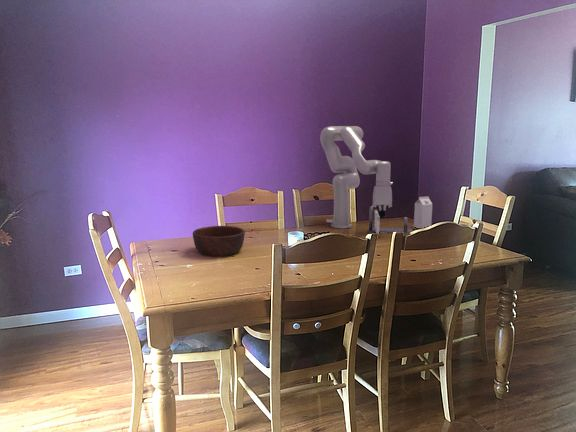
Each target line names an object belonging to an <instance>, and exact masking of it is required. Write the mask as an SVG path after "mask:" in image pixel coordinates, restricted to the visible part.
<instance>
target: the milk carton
mask: <svg viewBox="0 0 576 432" xmlns="http://www.w3.org/2000/svg"><path fill="white" fill-rule="evenodd" d="M413 215H414V216H413V228H414V227H416V228H424V227H427V226H430V225H431V226H432V220H433V219H432V217H433V202H432V201H431V199H430V196H419V197H418V199H417V200H416V201H415V202H414V214H413ZM416 228H415V229H416Z"/></svg>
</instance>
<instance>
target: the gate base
mask: <svg viewBox="0 0 576 432" xmlns="http://www.w3.org/2000/svg"><path fill="white" fill-rule="evenodd" d="M368 215H369V216H368V217H369V218H368V227H367V233H368V232H371V234H373V233H374V234H376V233H375V232H376V231H375V229H374V228H373V224H374V207H373V206H372V205H371V206H369V214H368ZM408 222H409V217H408V216H404V219H403V228H401V227H400V228H399V227H398V228H397V227H379V232H385V233H384V234H389V233H393V232H395V231H397V232H404V233H408V234H407V235H410V234H409V233H410V232H412V231H413V228H408V226H409V225H408V224H409V223H408ZM386 232H387V233H386ZM413 232H414V231H413Z"/></svg>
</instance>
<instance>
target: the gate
mask: <svg viewBox="0 0 576 432" xmlns="http://www.w3.org/2000/svg"><path fill="white" fill-rule="evenodd" d="M380 219H381V218H380V216H379V209H373V228H374V229H375V231H376V233H377V234H378V235H377V234H376V233H375V234H376V235H377V236H379V235H380V233H379V228H380V226H381V225H380V224H381V223H380V222H381V220H380Z"/></svg>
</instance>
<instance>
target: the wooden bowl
mask: <svg viewBox="0 0 576 432" xmlns="http://www.w3.org/2000/svg"><path fill="white" fill-rule="evenodd" d="M192 239H193V244H194V247H195V249H196V251H197V252H198V253H199V255H200V254H201V255H203V256H205V257H218V258H219V257H228V256H233V255H236V254H238V253H239V252H240V251H241V250H242V248H243V245H244V242H245V229H243V228H242V227H239V226H232V225H211V226H205V227H204V226H203V227H200V228H196V229H194V230H193V231H192Z"/></svg>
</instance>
